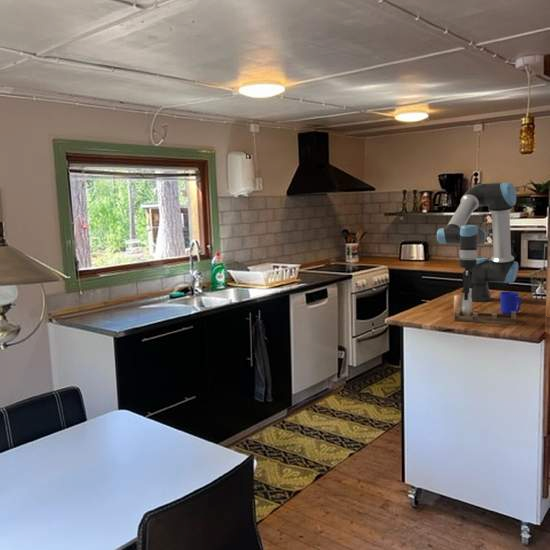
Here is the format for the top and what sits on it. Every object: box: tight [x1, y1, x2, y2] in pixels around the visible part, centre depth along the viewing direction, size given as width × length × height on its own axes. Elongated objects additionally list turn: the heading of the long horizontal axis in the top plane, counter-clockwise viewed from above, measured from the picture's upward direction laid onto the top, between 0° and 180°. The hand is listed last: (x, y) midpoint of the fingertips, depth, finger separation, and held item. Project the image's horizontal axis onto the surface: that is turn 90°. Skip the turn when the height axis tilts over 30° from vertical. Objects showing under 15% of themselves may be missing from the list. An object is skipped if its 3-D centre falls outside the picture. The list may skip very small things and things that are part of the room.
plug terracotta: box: [453, 294, 463, 315], centre depth 266 cm, size 4×4×9 cm
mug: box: [499, 291, 522, 314], centre depth 262 cm, size 8×12×10 cm
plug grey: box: [462, 298, 473, 316], centre depth 253 cm, size 4×4×9 cm
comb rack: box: [454, 308, 517, 326], centre depth 250 cm, size 10×26×4 cm, turn 66°
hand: (467, 304), depth 253 cm, fingers open, 13 cm apart
